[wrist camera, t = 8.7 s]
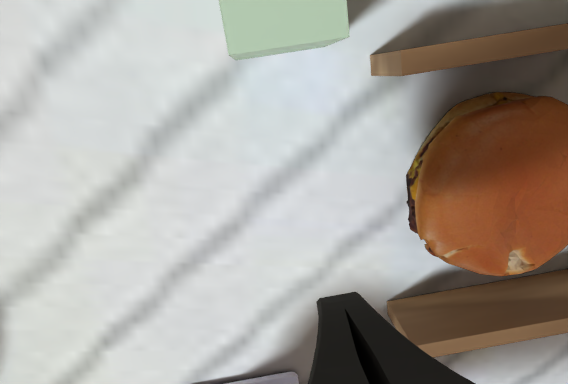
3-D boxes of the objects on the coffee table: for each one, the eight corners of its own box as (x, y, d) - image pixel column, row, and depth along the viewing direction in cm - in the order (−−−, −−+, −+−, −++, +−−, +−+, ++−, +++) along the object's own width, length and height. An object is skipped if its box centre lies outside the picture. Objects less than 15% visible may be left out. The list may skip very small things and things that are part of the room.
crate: (601, 275, 24) (667, 314, 20) (387, 314, 23) (413, 360, 19) (643, 11, 18) (744, -6, 15) (370, 55, 18) (400, 50, 14)
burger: (538, 60, 19) (624, 57, 15) (566, 206, 22) (645, 240, 18) (368, 140, 20) (401, 160, 15) (418, 270, 23) (457, 319, 18)
